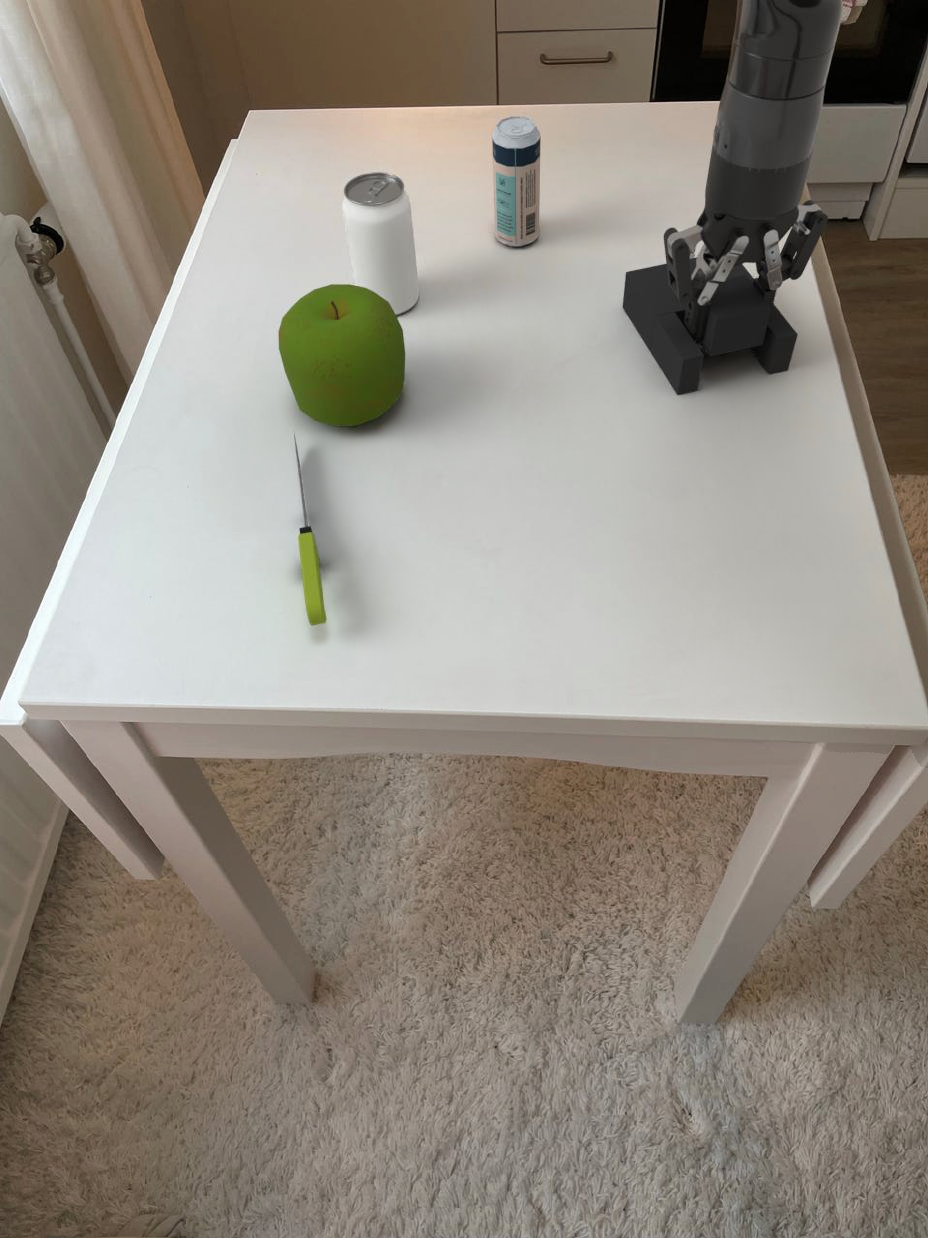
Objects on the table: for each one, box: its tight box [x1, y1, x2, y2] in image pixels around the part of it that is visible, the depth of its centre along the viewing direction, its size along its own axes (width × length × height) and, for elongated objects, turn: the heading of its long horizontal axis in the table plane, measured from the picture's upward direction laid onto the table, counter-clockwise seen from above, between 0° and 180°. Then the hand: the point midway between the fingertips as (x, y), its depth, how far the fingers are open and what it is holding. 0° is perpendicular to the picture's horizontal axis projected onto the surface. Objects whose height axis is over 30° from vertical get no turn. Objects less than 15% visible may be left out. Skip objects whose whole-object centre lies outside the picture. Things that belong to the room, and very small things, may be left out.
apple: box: [278, 283, 406, 427], centre depth 85 cm, size 11×11×11 cm
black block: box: [697, 275, 771, 357], centre depth 86 cm, size 5×5×4 cm
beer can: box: [491, 115, 541, 248], centre depth 99 cm, size 5×5×12 cm
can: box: [341, 171, 420, 316], centre depth 93 cm, size 6×6×12 cm
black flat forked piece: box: [622, 256, 798, 396], centre depth 90 cm, size 14×11×4 cm
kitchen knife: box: [292, 430, 327, 626], centre depth 78 cm, size 22×1×3 cm, turn 11°
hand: (726, 325), depth 86 cm, fingers closed on black block, 5 cm apart
